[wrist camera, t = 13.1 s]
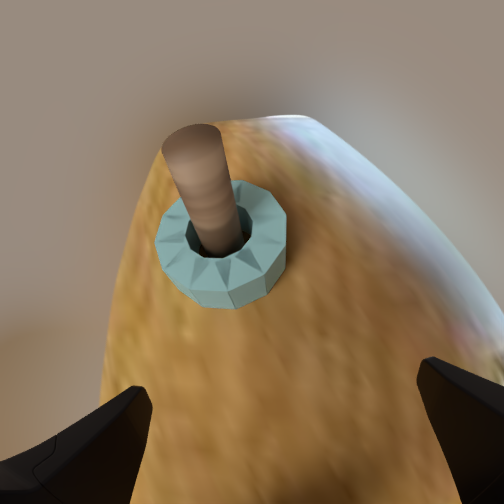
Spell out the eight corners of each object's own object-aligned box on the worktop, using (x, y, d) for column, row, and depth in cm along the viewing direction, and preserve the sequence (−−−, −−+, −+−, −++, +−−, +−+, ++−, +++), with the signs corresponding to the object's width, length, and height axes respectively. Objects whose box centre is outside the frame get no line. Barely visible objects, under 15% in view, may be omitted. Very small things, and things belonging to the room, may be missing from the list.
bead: (283, 311, 23) (284, 294, 19) (161, 303, 24) (142, 285, 20) (286, 207, 28) (286, 180, 25) (184, 208, 29) (173, 183, 26)
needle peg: (252, 260, 25) (229, 145, 14) (216, 275, 25) (167, 169, 14) (237, 231, 27) (210, 117, 16) (203, 245, 27) (157, 138, 15)
